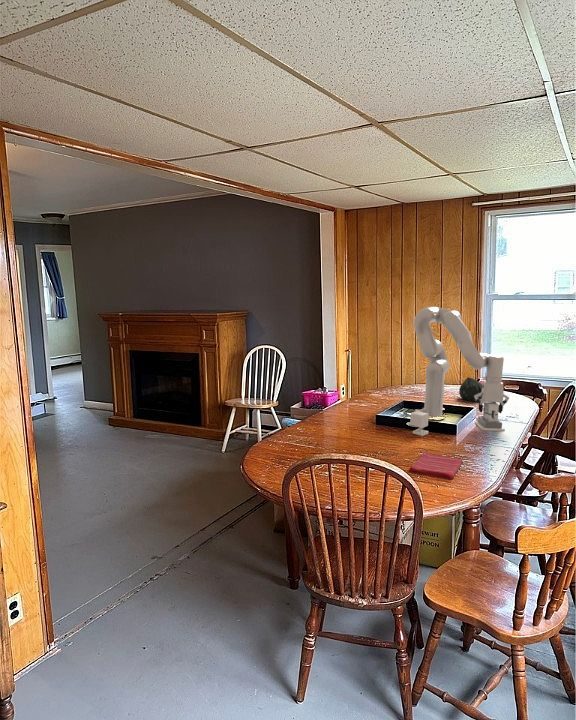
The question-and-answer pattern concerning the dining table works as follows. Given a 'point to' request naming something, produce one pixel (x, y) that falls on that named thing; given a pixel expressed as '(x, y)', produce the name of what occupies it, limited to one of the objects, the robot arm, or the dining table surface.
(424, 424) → the security camera
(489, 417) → the ink box
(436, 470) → the dish towel
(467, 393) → the squash
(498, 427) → the dock board
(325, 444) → the dining table surface
